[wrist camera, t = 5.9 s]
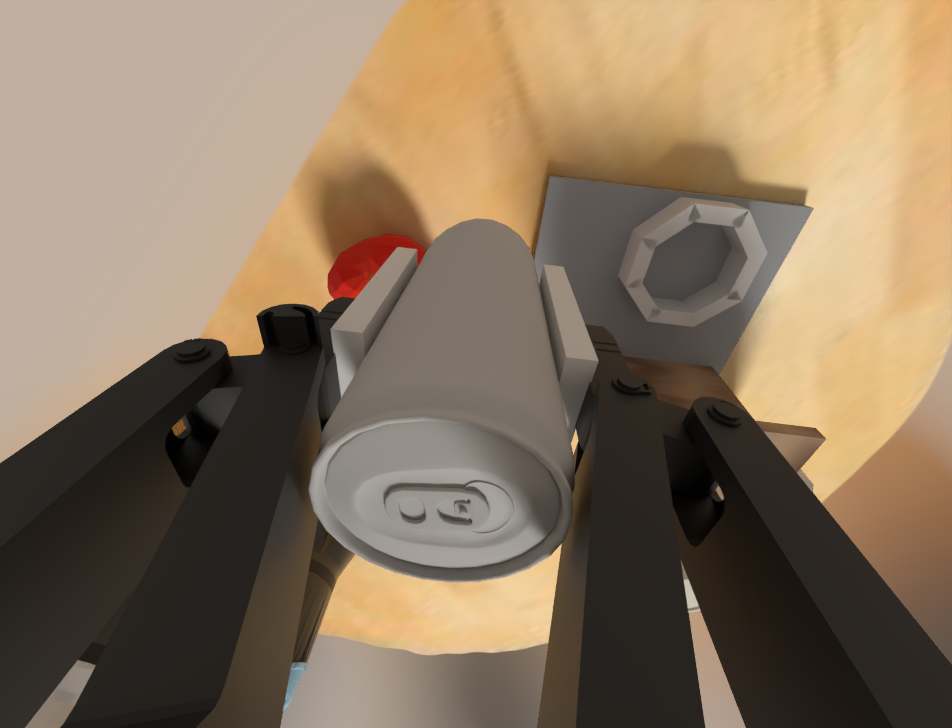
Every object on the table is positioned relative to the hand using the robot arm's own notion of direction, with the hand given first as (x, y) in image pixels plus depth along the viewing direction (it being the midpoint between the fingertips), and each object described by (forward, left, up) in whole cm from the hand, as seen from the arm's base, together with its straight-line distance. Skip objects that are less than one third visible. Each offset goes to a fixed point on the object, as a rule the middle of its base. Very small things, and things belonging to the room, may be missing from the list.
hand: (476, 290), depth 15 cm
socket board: (+14, -6, -19) cm, 24 cm away
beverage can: (0, 0, -2) cm, 2 cm away
